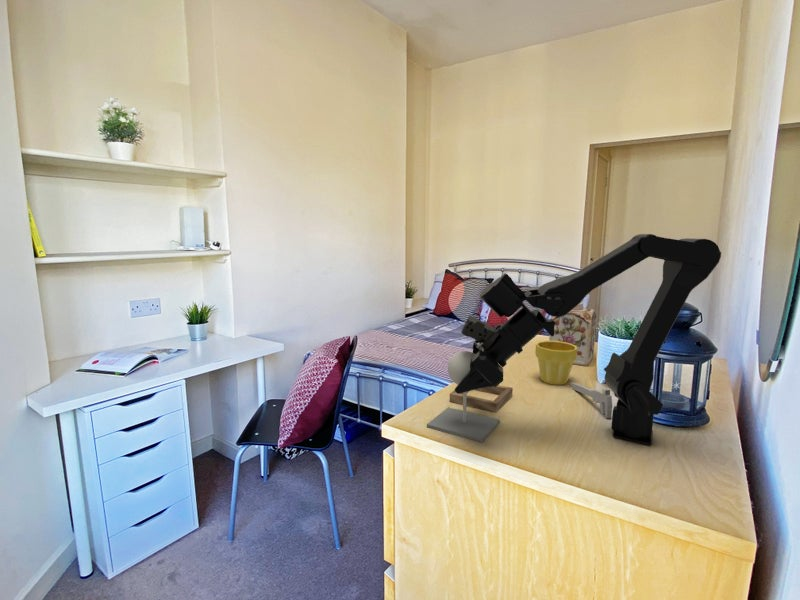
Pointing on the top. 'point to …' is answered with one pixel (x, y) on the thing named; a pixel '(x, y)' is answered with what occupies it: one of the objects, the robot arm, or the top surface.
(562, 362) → the plant pot
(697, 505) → the top surface
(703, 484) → the top surface
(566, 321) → the decorative jar
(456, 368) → the lollipop
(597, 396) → the caliper
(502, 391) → the brown wooden square frame
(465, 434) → the mat
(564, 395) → the top surface
